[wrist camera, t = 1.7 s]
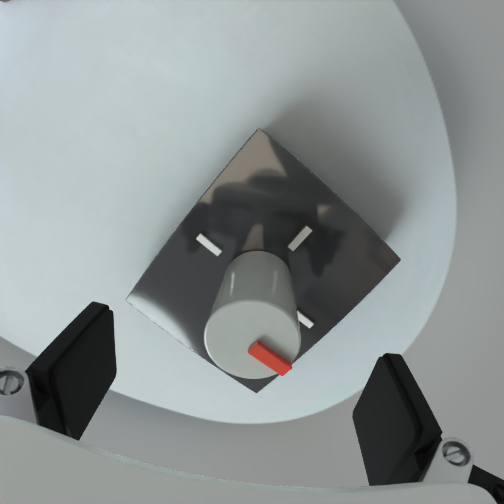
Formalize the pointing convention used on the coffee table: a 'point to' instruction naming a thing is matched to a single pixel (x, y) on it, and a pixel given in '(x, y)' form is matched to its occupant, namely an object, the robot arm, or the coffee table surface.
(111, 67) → the coffee table surface
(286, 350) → the hob knob
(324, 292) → the hob panel
